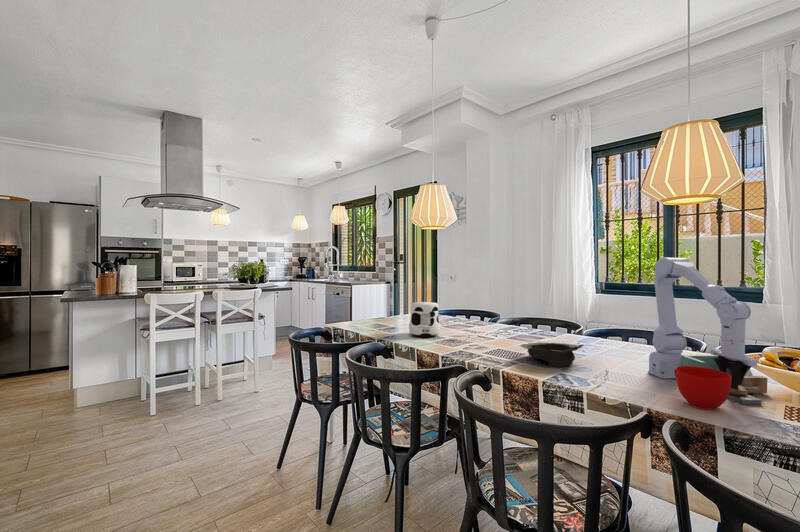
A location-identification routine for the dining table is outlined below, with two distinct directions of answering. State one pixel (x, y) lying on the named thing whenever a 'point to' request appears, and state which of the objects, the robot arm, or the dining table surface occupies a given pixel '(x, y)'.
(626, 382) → the dining table surface
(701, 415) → the dining table surface
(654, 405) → the dining table surface
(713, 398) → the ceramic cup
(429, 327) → the milk container
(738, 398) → the rail
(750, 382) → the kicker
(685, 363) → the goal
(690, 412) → the dining table surface
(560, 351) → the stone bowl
